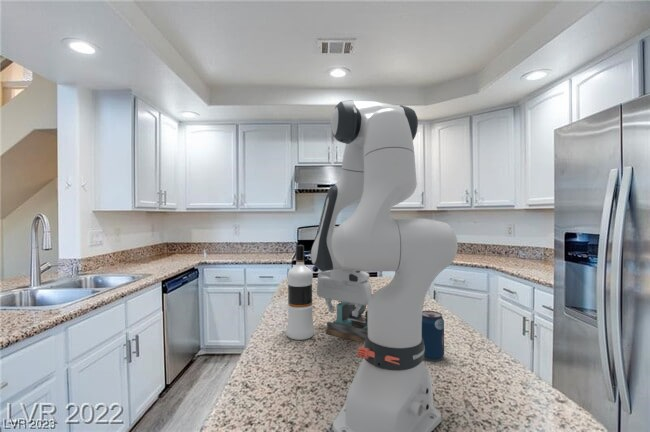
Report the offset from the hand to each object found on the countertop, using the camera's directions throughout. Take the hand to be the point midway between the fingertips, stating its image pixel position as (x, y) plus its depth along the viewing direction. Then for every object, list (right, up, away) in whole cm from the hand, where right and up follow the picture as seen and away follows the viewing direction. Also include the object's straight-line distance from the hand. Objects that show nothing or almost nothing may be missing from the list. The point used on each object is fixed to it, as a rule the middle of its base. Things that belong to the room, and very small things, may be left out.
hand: (343, 313), depth 106 cm
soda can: (+24, -6, -19) cm, 31 cm away
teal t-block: (0, -5, 0) cm, 5 cm away
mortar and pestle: (+5, -6, +14) cm, 16 cm away
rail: (+4, -6, -3) cm, 8 cm away
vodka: (-14, -6, -3) cm, 16 cm away
